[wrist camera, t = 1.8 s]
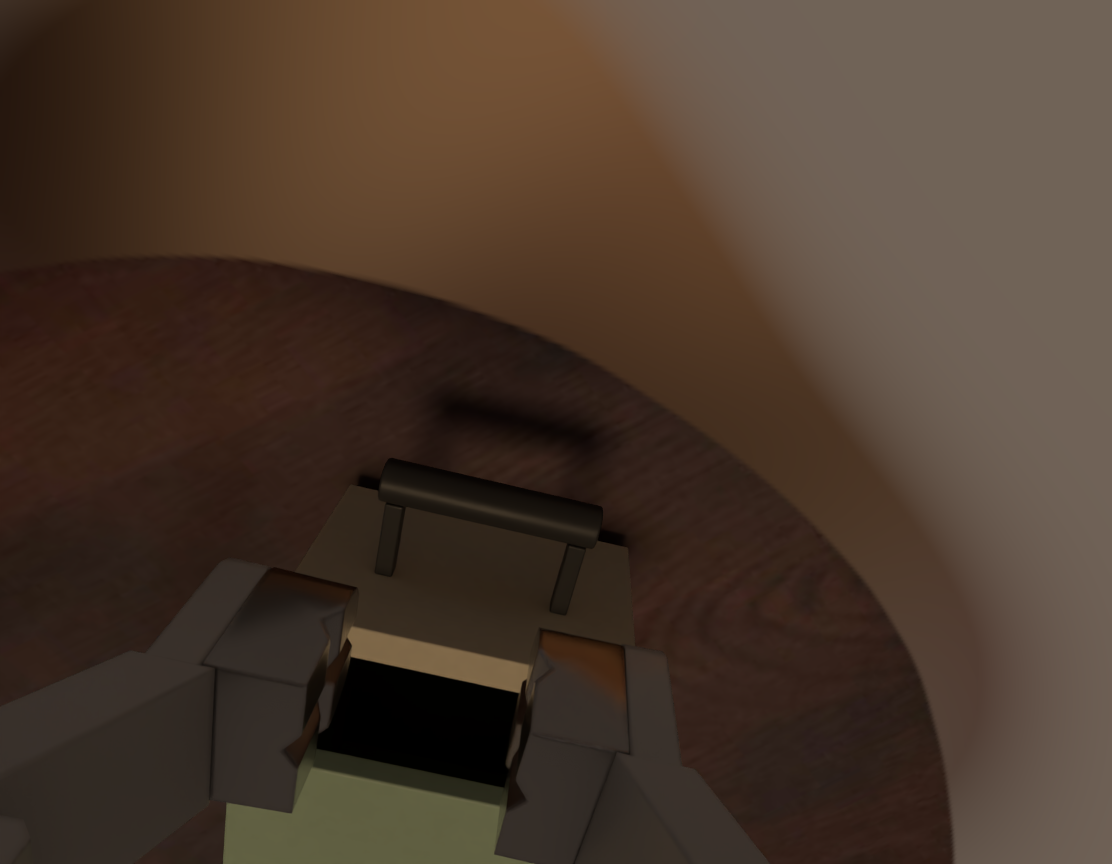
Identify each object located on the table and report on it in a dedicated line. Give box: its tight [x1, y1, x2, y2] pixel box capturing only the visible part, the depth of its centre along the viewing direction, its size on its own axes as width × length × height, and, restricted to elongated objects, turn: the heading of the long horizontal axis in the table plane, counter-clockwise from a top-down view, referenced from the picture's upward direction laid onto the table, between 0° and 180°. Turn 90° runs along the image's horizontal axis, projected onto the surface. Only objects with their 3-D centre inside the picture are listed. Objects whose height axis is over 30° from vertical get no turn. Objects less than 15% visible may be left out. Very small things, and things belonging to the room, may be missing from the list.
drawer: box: [295, 458, 635, 787], centre depth 27 cm, size 18×11×8 cm, turn 167°
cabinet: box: [223, 748, 533, 864], centre depth 31 cm, size 15×13×10 cm
